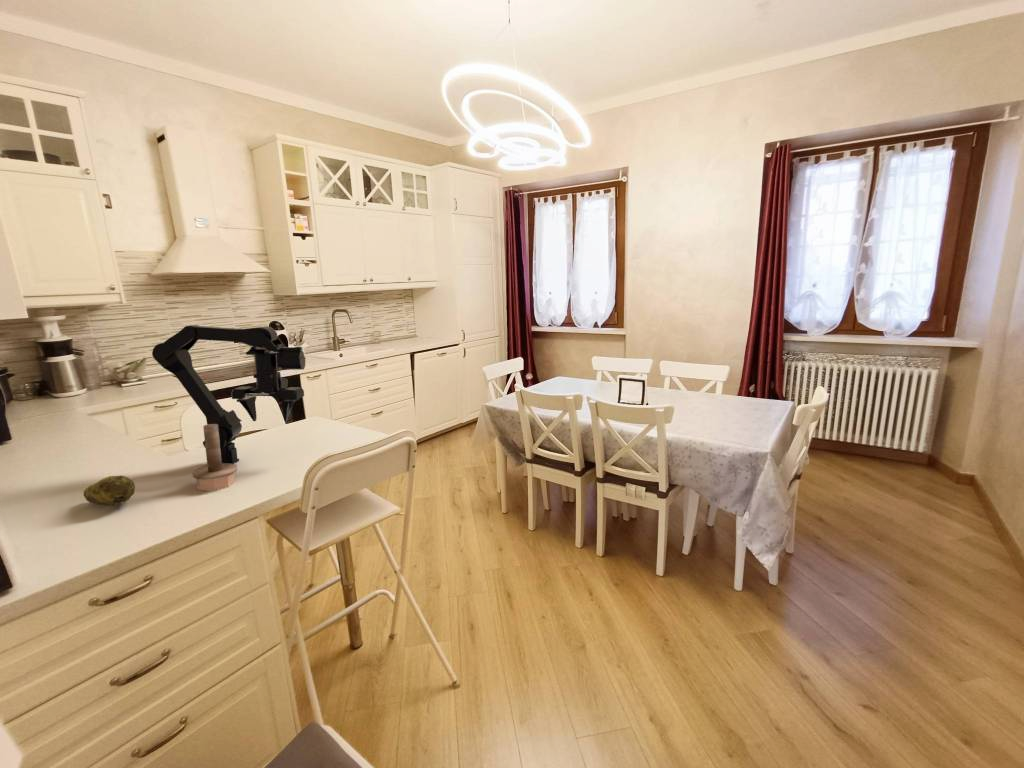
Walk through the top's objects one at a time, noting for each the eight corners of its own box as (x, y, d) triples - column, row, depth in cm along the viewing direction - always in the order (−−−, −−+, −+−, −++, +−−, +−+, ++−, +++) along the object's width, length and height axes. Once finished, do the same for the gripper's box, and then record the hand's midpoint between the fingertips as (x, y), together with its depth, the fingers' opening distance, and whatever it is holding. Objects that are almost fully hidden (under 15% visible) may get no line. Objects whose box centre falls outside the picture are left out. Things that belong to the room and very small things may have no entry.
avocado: (128, 492, 113) (124, 462, 112) (141, 508, 105) (136, 476, 104) (83, 503, 107) (78, 472, 105) (93, 521, 99) (88, 487, 97)
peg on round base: (183, 479, 114) (177, 430, 111) (208, 465, 123) (203, 420, 121) (223, 479, 114) (218, 431, 112) (244, 465, 124) (241, 420, 122)
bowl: (191, 490, 115) (189, 477, 115) (210, 478, 123) (209, 466, 122) (222, 490, 116) (221, 478, 115) (240, 478, 123) (239, 466, 123)
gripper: (310, 366, 139) (312, 414, 142) (249, 365, 139) (253, 414, 142) (294, 371, 129) (297, 424, 131) (227, 370, 128) (232, 423, 131)
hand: (270, 421), depth 134 cm, fingers open, 9 cm apart
